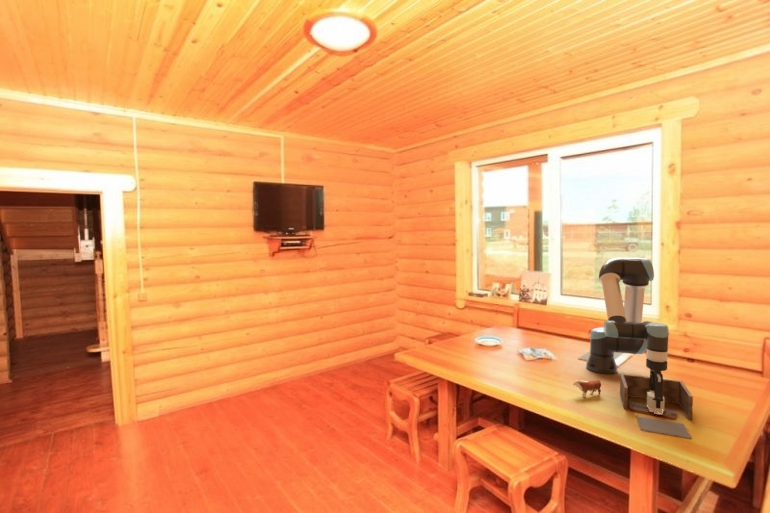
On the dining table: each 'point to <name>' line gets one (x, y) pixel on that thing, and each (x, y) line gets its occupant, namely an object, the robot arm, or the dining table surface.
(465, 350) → the dining table surface
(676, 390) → the open box
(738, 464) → the dining table surface
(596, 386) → the bull figurine
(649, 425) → the grey mat
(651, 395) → the beige block
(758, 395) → the dining table surface
